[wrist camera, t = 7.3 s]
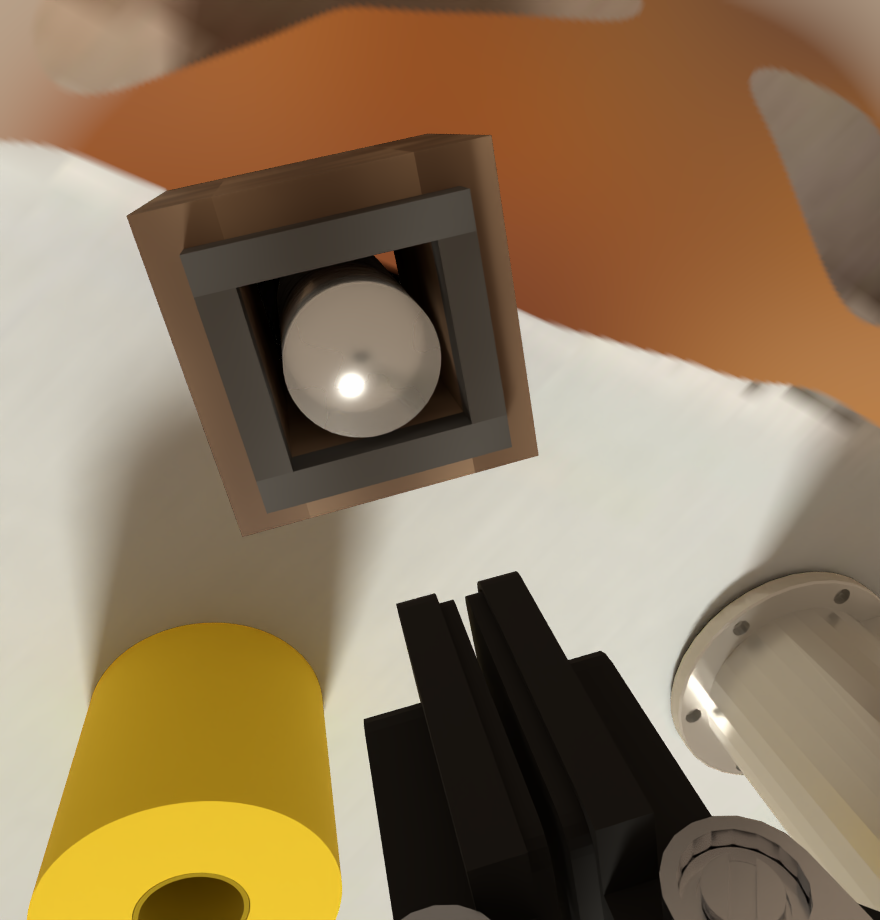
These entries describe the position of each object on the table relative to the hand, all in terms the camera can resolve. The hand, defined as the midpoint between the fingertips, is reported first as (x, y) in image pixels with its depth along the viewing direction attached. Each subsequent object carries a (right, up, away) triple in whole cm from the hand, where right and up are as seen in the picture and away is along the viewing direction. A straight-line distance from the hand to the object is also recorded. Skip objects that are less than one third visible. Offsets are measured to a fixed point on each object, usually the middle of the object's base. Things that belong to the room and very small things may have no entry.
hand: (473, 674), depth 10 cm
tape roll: (-11, -8, +23) cm, 27 cm away
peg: (-4, +9, +16) cm, 18 cm away
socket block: (-4, +9, +17) cm, 20 cm away
